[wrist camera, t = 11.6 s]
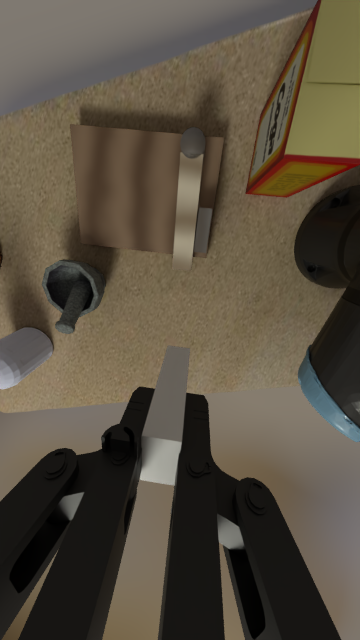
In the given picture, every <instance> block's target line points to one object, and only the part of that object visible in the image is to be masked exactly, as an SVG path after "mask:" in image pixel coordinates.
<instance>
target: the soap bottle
mask: <svg viewBox="0 0 360 640" xmlns="http://www.w3.org/2000/svg"><path fill="white" fill-rule="evenodd" d="M52 352H53V345H52V343H51V341H50V339H49V338H48V337H47V336H46V334H45V333H43V332H42V331H40V330H38V329H35V328H32V327H24V328H22V329H19V330H17V331H15V332H14V333H12V334H10V335H8V336H6V337H4V338H2V339H0V389H6V388H9V387H12V386H15V385H16V384H18V383H19V382H20V381H21V380H23V379H24V378H25V377H26V376H27V375H29V374H30V373H31V372H32V371H34V370H35V369H36V368H37V367H39V366H40V365H41V364H42V363H44V362H45V361H46V360H47V359H48V358H49V357H50V356H51V355H52Z"/></svg>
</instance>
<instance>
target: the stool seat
mask: <svg viewBox="0 0 360 640" xmlns="http://www.w3.org/2000/svg"><path fill="white" fill-rule="evenodd" d="M70 129H71V140H72V151H73V162H74V172H75V183H76V194H77V205H78V216H79V227H80V238H81V244H89V245H97V246H106V247H115V248H123V249H132V250H141V251H149V252H158V253H166V254H173V250H174V236H175V222H176V208H177V194H178V180H179V166H180V152H182V151H181V146H180V142H181V137H182V135H183V134H176V133H165V132H153V131H142V130H131V129H119V128H108V127H97V126H85V125H74V124H70ZM223 143H224V138H222V137H210V136H205V155H204V158H203V168H202V177H201V186H200V195H199V204H198V213H197V223H196V232H195V241H194V250H193V257H201V258H206V257H207V250H208V244H209V237H210V230H211V223H212V217H213V210H214V203H215V196H216V190H217V183H218V176H219V170H220V163H221V156H222V149H223Z"/></svg>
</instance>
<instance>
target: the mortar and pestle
mask: <svg viewBox="0 0 360 640" xmlns="http://www.w3.org/2000/svg"><path fill="white" fill-rule="evenodd" d="M42 286H43V289H44V291H45V294H46V296H47V299H48V301H49V302H50V303H51V304H52V305H53V306H54V307H56V308H57V309H58V310H59V311H60V312H61V313H62V315H61V318H60V320H59V321H58V322H56V324H55V328H56V329H57V330H58V331H59V332H62V333H66V334H70V333H73V332H74V330H75V324H76V322H77V320H78V318H79V317H81V316H83V315H85V314H87V313H89V312H91V311H93V310H95V309H96V308H97V307H98V306H99V305H100V302H101V299H102V297H103V294H104V288H105V286H106V284H105V280H104V277H103V275H102V274H101V273H100V272H99V271H98V270H97V269H96V268H93V267H90V266H89V265H88V264H87V263H83V262H78V261H73V260H59V261H58V262H56V263H54V264H53V265H51V266H49V267H48V268H46V269H45V274H44V278H43V282H42Z"/></svg>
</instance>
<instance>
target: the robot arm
mask: <svg viewBox="0 0 360 640" xmlns="http://www.w3.org/2000/svg"><path fill="white" fill-rule="evenodd" d="M294 255H295V261H296V264H297V266H298V268H299V270H300V272H301V273H302V274H303V275H304V276H305V277H306V278H307V279H308V280H310V281H312V282H314V283H316V284H319V285H321V286H324V287H329V288H346V290H345V292H344V293H343V295H342V296H341V298H340V299H339V301H338V303H337V304H336V306H335V308H334V309H333V311H332V313H331V314H330V316H329V317H328V319H327V321H326V322H325V324H324V326H323V327H322V329H321V331H320V332H319V334H318V335H317V337H316V339H315V340H314V342H313V344H312V345H310V346H309V347H308V349H307V351H306V356H305V358H304V359H303V361H302V363H301V365H300V367H299V370H298V380H299V383H300V385H301V389H302V391H303V393H304V395H305V396H306V398H307V399H308V401H309V402H310V403H311V405H312V406H313V407H314V408H315V409H316V411H317V412H318V413H319V414H320V415H321V416H322V417H323V418H324V419H325V420H326V421H327V422H329V423H330V424H331V425H332V426H333V427H335V428H336V429H337V430H338V431H340V432H341V433H343V434H344V435H345V436H347V437H348V438H350V439H352V440H353V441H355V442H360V185H356V186H352V187H349V188H346V189H343V190H340V191H338V192H336V193H333V194H332V195H330V196H328V197H326V198H325V199H324V200H322V201H321V202H320V203H318V204H317V205H316V206H315V207H314V208H313V209H312V210H311V211H310V213H309V214H308V215H307V216H306V218H305V219H304V221H303V222H302V224H301V226H300V228H299V230H298V233H297V236H296V240H295V246H294ZM189 354H190V348H183V347H175V346H168V347H167V350H166V354H165V357H164V361H163V364H162V367H161V371H160V374H159V378H158V381H157V385H156V388H155V389H153V388H146V387H138V388H137V389H136V390H135V391H134V392H133V393H132V396H131V398H130V400H129V403H128V405H127V408H126V410H125V412H124V415H123V417H122V419H121V421H120V424H117V425H114V426H112V427H110V428H109V429H107V430H106V431H105V432H104V434H103V435H102V437H101V440H102V449H100V450H99V451H96V452H92V453H87V454H81V455H76V453H75V452H74V451H73V450H72V449H67V448H62V449H57V450H55V451H52V452H50V453H49V454H47V455H46V456H45V457H44V458H42V459H41V460H40V461H39V462H38V463H37V464H36V465H35V467H33V468H32V469H31V470H30V471H29V473H28V474H27V475H26V476H25V477H24V478H23V479H22V480H21V481H20V482H19V483H18V484H17V485H16V486H15V487H14V488H13V489H12V490H11V491H10V492H9V493H8V494H7V495H6V496H5V497H4V498H3V499H2V500H1V501H0V640H1V639H2V638H3V636H4V635H5V633H6V631H7V630H8V628H9V627H10V625H11V624H12V622H13V620H14V619H15V617H16V615H17V614H18V612H19V611H20V609H21V608H22V606H23V605H24V603H25V601H26V600H27V598H28V597H29V595H30V593H31V592H32V590H33V589H34V587H35V585H36V584H37V582H38V581H39V579H40V578H41V576H42V574H43V573H44V571H45V569H46V568H47V567H48V565H49V563H50V562H51V560H52V558H53V557H54V555H55V554H56V552H57V550H58V549H59V550H58V552H57V554H56V557H55V559H54V561H53V563H52V566H51V568H50V570H49V573H48V574H47V577H46V579H45V581H44V583H43V586H42V588H41V590H40V592H39V594H38V597H37V599H36V601H35V604H34V606H33V608H32V610H31V612H30V615H29V617H28V619H27V621H26V624H25V626H24V628H23V630H22V632H21V635H20V637H19V639H18V640H102V637H103V633H104V629H105V625H106V621H107V617H108V612H109V608H110V604H111V600H112V596H113V592H114V587H115V584H116V579H117V575H118V571H119V567H120V563H121V558H122V554H123V550H124V546H125V542H126V538H127V534H128V529H129V525H130V521H131V517H132V513H133V509H134V504H135V500H136V494H137V486H138V482H139V478H140V480H145V481H151V482H157V483H163V484H169V485H174V496H173V502H172V508H171V520H170V530H169V539H168V548H167V558H166V567H165V577H164V586H163V596H162V605H161V615H160V624H159V635H158V640H225V636H224V620H223V603H222V587H221V570H220V554H219V542H220V543H221V544H222V545H223V548H224V552H225V557H226V560H227V565H228V569H229V573H230V578H231V582H232V586H233V590H234V595H235V599H236V603H237V607H238V612H239V616H240V620H241V624H242V628H243V632H244V637H245V640H341V639H340V636H339V634H338V632H337V630H336V627H335V625H334V623H333V621H332V619H331V617H330V615H329V613H328V610H327V608H326V606H325V604H324V602H323V600H322V598H321V596H320V593H319V591H318V589H317V587H316V585H315V583H314V581H313V579H312V577H311V574H310V572H309V570H308V568H307V566H306V564H305V562H304V560H303V557H302V555H301V553H300V551H299V549H298V547H297V545H296V543H295V540H294V538H293V536H292V534H291V532H290V530H289V528H288V526H287V523H286V521H285V519H284V517H283V515H282V513H281V511H280V509H279V507H278V505H277V502H276V500H275V498H274V496H273V495H272V493H271V492H270V490H269V489H268V488H267V487H266V486H265V485H264V484H263V483H262V482H260V481H258V480H256V479H255V478H248V477H247V478H244V479H242V480H240V481H239V480H237V479H235V478H233V477H231V476H229V475H228V474H226V473H225V472H223V471H221V469H220V468H219V467H218V466H217V465H216V464H215V462H214V460H213V458H212V455H211V449H210V430H209V414H208V413H209V410H208V402H207V400H206V399H205V396H204V395H198V394H191V393H186V389H187V377H188V366H189ZM59 547H60V548H59Z"/></svg>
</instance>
